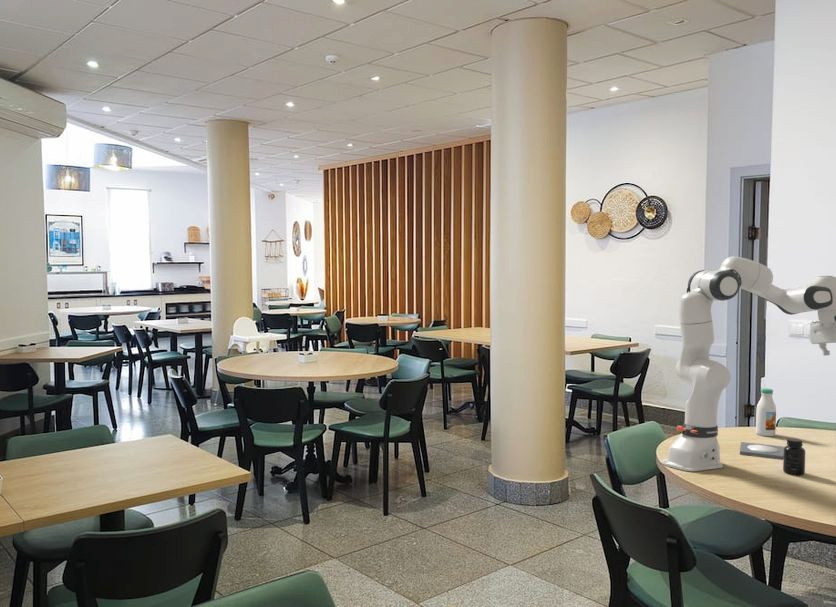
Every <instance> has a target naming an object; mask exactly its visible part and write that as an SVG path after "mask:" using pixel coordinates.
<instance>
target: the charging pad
mask: <svg viewBox="0 0 836 607" xmlns="http://www.w3.org/2000/svg"><path fill="white" fill-rule="evenodd" d="M784 447H785V446H781V445H771V444H765V443H764V444H763V443H756V442H746V441H745V442H744V441H741V442H740V448H739V455H742V454H745V455H744V456H750V455H754V456H753V457H759V456H762V457H761V458H768V457H769V458H770V459H776V458H777V460H783V454H784Z"/></svg>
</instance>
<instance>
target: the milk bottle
mask: <svg viewBox="0 0 836 607" xmlns="http://www.w3.org/2000/svg"><path fill="white" fill-rule="evenodd" d="M760 394H761V396H760V399H759V400H758V403H757V404H756V410H755V413H756V414H755V435H758V436H761V437H775V436H776V431H777V430H776V428H777V427H776V426H777V425H776V424H777V407H776V404H775V402H774V398H773V394H774V390H773V389H771V388H761V389H760Z"/></svg>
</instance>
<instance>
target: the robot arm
mask: <svg viewBox="0 0 836 607" xmlns="http://www.w3.org/2000/svg"><path fill="white" fill-rule="evenodd" d="M773 281H774V274H773V271H772V269H771V268H770V267H768V266H766V265H764V264H763V263H761V262H757V261H755V260H752V259H749V258H745V257H742V256H741V257H740V256H735V255H734V256H728V257H726V259H724V260H723V261H722V263H721V265H720V267H719V269H718V270H716V269H708V270H705V269H703V270H702V269H701V270H698V271H696V272H694V273H692V275H690V277H689V279H688V282H687V288H686V293H684V294H683V295H682V296H681V297H680V299H679V323H680V324H679V325H680V335H681V353H680V359H679V360H678V361H677V363H676V366H675V372H676V375H677V376H678V378H679V379H680V380H682V381H683V382H684V383H686V384H688V385H691V386H692V391H691V394H690V396H689V398H688V399H687V400H686V401H685V404H684V421H683V424H682V425H677V426H676V431H678V432H680V435H679V436H678V437H677V438H676V439H675V441H673V442H672V443H671V444H670V446H669V448H668V450H667V457H665V458H663V459H660V463H661V464H662V465H664V466H667V467H670V468H673V469H676V470H680V471H685V472H699V471H707V470H716V469H722V468H723V467H724V465H723V464H722V463H721V448H720V447H721V446H720V443H719V441H718V438H717V436H718V434H719V429H718V428H719V427H718V426H719V425H718V406H719V401H720V398H721V395H722V393H723V391H724V389H726V388H727V387H728V386H729V384H730V381H731V373H730V370H729V368H728V367H726V365H723V363H720V362H719V361H717V360H712V359H710V350H711V346H712V345H713V344H715V333H714V326H713V325H714V324H713V316H712V311H711V310H712V305H713V302H714V301H723V302H724V301H728V300H731V299H733V298H734V297H736V296H737V295H738V292H739V290H740V289H742V290H744V291H747V292H749V293H752V294H754V295H755V296H757V297H759V298H761V299H763V300H765V301H767V302H769V303H772V305H775V306H776V307H777V308H778V309H779V310H780V311H781V312H783V313H784V314H786V315H791V316H792V315H797V314H801V313H809V312H817V318H818V319H817V320H812V322H810V324H809V327H810V328H809V341H810V343H811V344H812V345H819V348H820V349H821V351H822V356H830V355H831V353H830V352H831V351H830V350H828V348H827V344H833V343H834V344H835V343H836V276H833V275H819V276H817V277H815V279H814V280H812V282H811V283H809V284H807V285H805V286H802V287H801V286H800V287H796V288H787V289H784V288H780V287H778V286H776V285H774V284H773Z"/></svg>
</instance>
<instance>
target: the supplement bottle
mask: <svg viewBox="0 0 836 607" xmlns="http://www.w3.org/2000/svg"><path fill="white" fill-rule="evenodd" d="M783 447H784V454H783V459H782V463H783V464H782V466H783V467H782V471H783V473H784V474H785V475H786V474H787V475H789V476H804V475H805V473H806V450H805V448H804V447H803V439H800V438H793V437H792V438H791V437H790V438H787V439H786V445H785V446H783Z"/></svg>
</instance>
